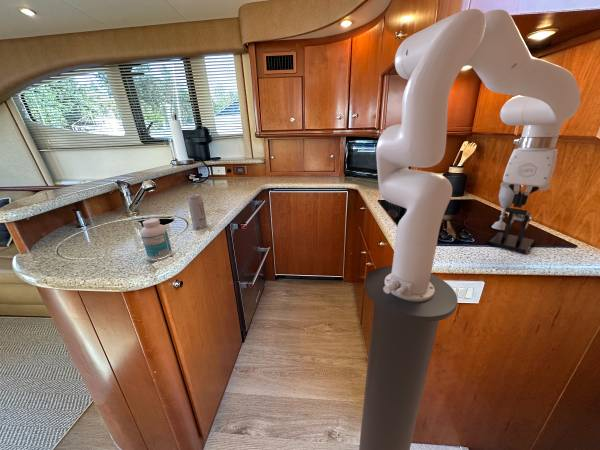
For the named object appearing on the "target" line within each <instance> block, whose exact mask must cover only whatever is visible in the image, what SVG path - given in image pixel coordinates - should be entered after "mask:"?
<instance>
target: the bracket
mask: <svg viewBox="0 0 600 450" xmlns="http://www.w3.org/2000/svg"><path fill="white" fill-rule="evenodd" d="M532 214H533V213H532V212H530V211H529V212H527V215H525V217H524V220H523V222H521V223H522V224H521V227H520V230H519V232H518V235H514V234H510V232H511V230H512V227H513V224H514V220H513V219H514V216H515V214H514V213H509V212H508V214H507V216H506V218H507V220H506V222H505V224H506V226H505V229H504V230H503V232H501V231H499V232H497V233H496V234H495V235H494V236H493V237H492V238H491V239H490V240H489V241H488V246H492V247H495V248H500V249H503V250H507V251H512V252H515V253H519V254H522V255H527V253H529V250H530V249H531V248H532V246H533V245H534V244H535V243H534V242H535V239H533V238H532V239H531V238H528V237H525V235H526V233H527V229H528V226H529V224H530V222H532V218H533V217H532Z"/></svg>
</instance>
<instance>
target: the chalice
mask: <svg viewBox="0 0 600 450" xmlns="http://www.w3.org/2000/svg"><path fill="white" fill-rule="evenodd" d="M523 187H524V185H521V189H522V188H523ZM514 195H515V194H514V192H513V191H512V190H511V189H510V188H509V187H506V186H503V185H501V183H500V188H499V193H498V202H499V205H500V207H501V208H502V210H501V212H500V215H499V220H498V221H495V222H494V223H493V224H492V225H491V228H492V229H495V230H499V231H504V229H505V226H506V222H504V219H505V218H506V216H505V215H506V214H507V212H505V210H506V207H508V208H511V207H512V206H513V205H514V204H513V203H512V201H513V198H514Z"/></svg>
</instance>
